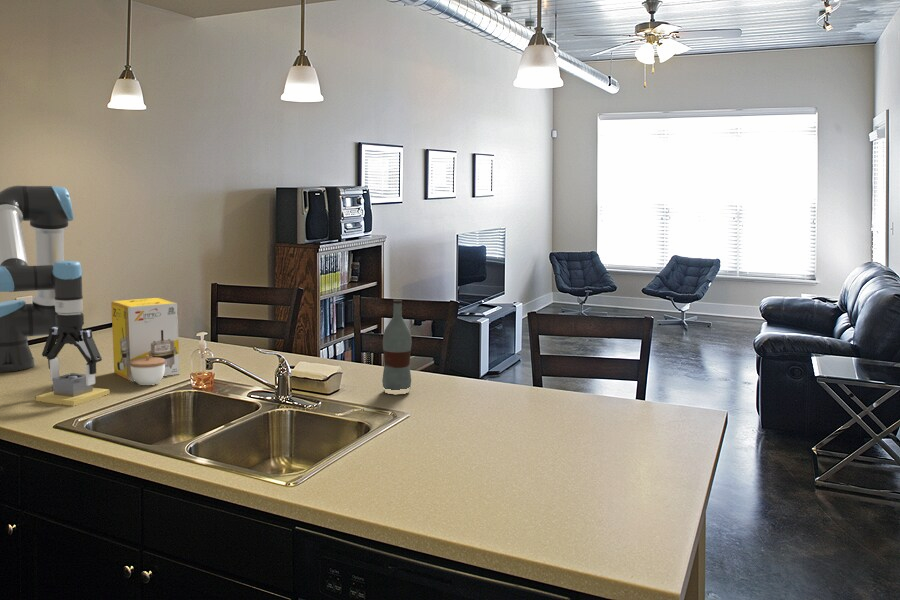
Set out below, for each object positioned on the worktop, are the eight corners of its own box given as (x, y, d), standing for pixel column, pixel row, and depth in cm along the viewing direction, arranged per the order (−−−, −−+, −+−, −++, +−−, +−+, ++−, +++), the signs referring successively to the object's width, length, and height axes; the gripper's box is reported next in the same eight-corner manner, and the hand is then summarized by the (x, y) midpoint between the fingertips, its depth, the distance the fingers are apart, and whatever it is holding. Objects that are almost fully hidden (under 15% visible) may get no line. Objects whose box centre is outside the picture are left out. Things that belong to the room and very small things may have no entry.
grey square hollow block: (53, 394, 222) (52, 378, 221) (73, 388, 229) (72, 372, 228) (73, 397, 219) (72, 380, 219) (92, 391, 226) (92, 375, 226)
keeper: (36, 401, 220) (35, 379, 219) (73, 389, 233) (72, 369, 232) (73, 406, 215) (72, 384, 215) (109, 394, 229) (108, 373, 228)
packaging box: (131, 381, 244) (128, 307, 241) (114, 372, 256) (111, 301, 253) (179, 374, 255) (177, 303, 252) (161, 366, 267) (158, 297, 263)
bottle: (413, 389, 242) (414, 298, 238) (408, 396, 233) (410, 302, 229) (385, 387, 243) (385, 297, 239) (379, 395, 234) (380, 301, 230)
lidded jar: (128, 388, 236) (127, 359, 234) (133, 380, 246) (132, 352, 245) (164, 387, 238) (163, 358, 237) (167, 379, 249) (166, 351, 247)
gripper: (26, 311, 221) (30, 380, 224) (93, 318, 213) (96, 389, 216) (46, 308, 228) (50, 375, 231) (112, 314, 220) (115, 383, 223)
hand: (72, 382), depth 224 cm, fingers open, 13 cm apart
